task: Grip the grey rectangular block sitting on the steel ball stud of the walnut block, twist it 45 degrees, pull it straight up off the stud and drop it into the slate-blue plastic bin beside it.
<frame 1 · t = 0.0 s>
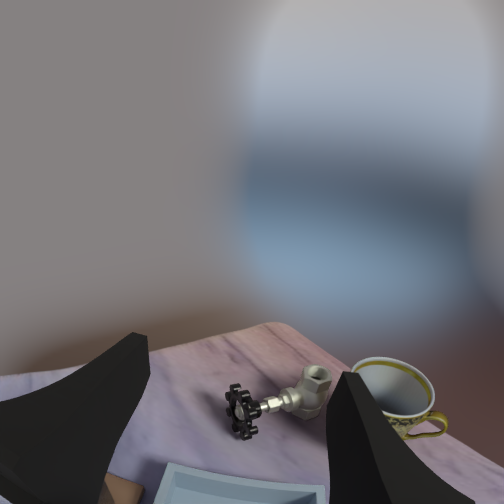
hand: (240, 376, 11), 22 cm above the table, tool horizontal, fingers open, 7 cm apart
ceramic cup: (370, 449, 30), on the table
valve: (278, 419, 35), on the table
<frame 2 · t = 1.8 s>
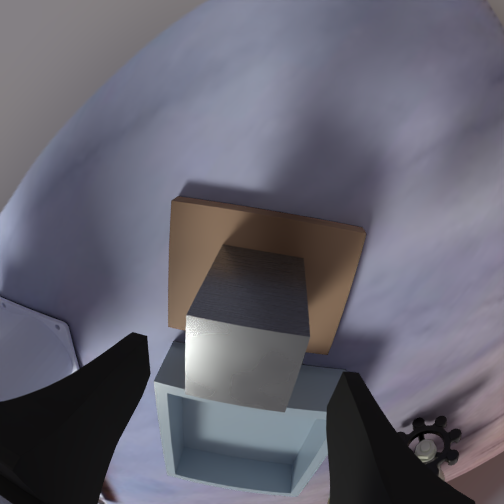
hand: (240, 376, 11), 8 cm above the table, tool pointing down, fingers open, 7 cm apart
grey rectangular block: (257, 286, 17), point 1 cm above the table, touching stud block
bin: (247, 417, 23), on the table
stud block: (258, 278, 18), on the table
valve: (419, 444, 24), on the table
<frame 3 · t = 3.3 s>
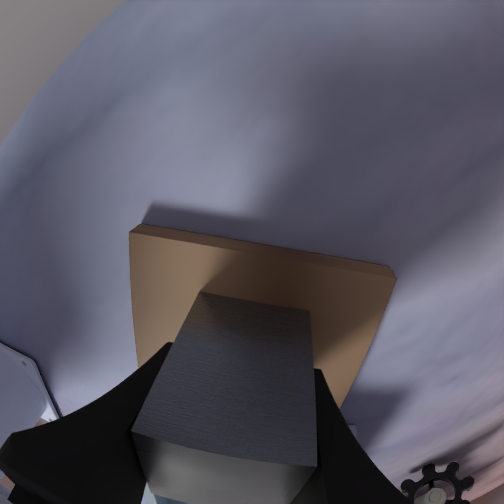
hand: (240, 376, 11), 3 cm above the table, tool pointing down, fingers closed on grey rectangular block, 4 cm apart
grey rectangular block: (247, 344, 12), point 1 cm above the table, touching gripper, stud block
bin: (239, 467, 19), on the table
stud block: (250, 329, 13), on the table
valve: (427, 483, 20), on the table
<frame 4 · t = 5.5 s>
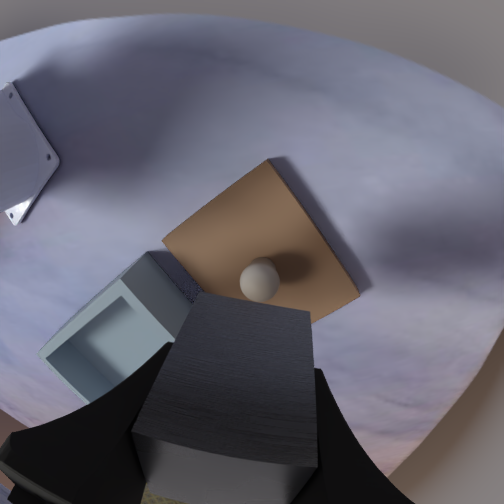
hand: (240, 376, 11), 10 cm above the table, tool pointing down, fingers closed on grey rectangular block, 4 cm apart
grey rectangular block: (247, 344, 12), point 8 cm above the table, touching gripper
ceramic cup: (156, 457, 32), on the table
bin: (143, 350, 24), on the table
stud block: (263, 262, 20), on the table
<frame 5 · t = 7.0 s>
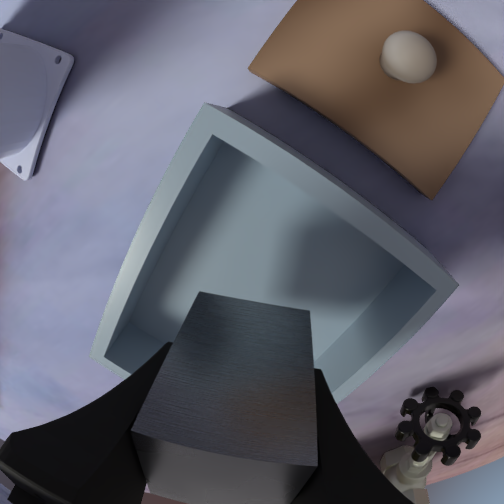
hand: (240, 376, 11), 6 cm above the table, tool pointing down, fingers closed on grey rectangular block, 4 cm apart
grey rectangular block: (247, 344, 12), point 4 cm above the table, touching gripper
bin: (257, 290, 17), on the table
stud block: (389, 66, 11), on the table
valve: (409, 430, 21), on the table
when the fingers open (5 cm above the table, at t = 8.1 s): grey rectangular block drops 2 cm, resting on bin.
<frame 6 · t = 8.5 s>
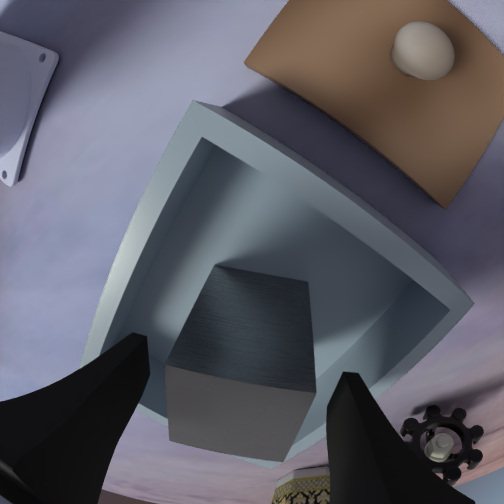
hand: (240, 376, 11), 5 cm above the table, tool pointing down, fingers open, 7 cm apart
grey rectangular block: (254, 312, 15), point 1 cm above the table, touching bin
ceramic cup: (299, 481, 23), on the table
bin: (254, 305, 15), on the table
stud block: (400, 62, 10), on the table
valve: (410, 446, 20), on the table
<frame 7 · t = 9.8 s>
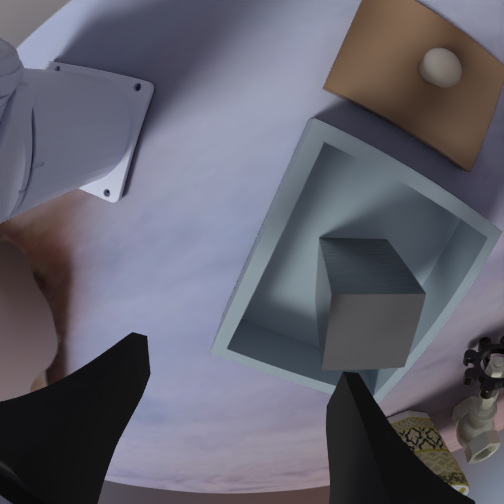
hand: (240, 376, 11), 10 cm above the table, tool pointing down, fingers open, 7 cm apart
grey rectangular block: (350, 270, 19), point 1 cm above the table, touching bin
ceramic cup: (385, 432, 26), on the table
bin: (348, 266, 19), on the table
stud block: (423, 73, 14), on the table
valve: (471, 381, 23), on the table
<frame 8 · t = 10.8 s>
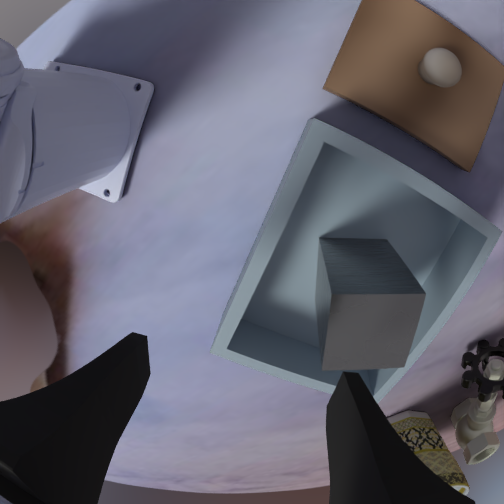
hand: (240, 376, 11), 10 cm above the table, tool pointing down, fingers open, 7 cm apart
grey rectangular block: (350, 270, 19), point 1 cm above the table, touching bin
ceramic cup: (385, 432, 26), on the table
bin: (348, 266, 19), on the table
stud block: (423, 73, 14), on the table
valve: (470, 383, 23), on the table
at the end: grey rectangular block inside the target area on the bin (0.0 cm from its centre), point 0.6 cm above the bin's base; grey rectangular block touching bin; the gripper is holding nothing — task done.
